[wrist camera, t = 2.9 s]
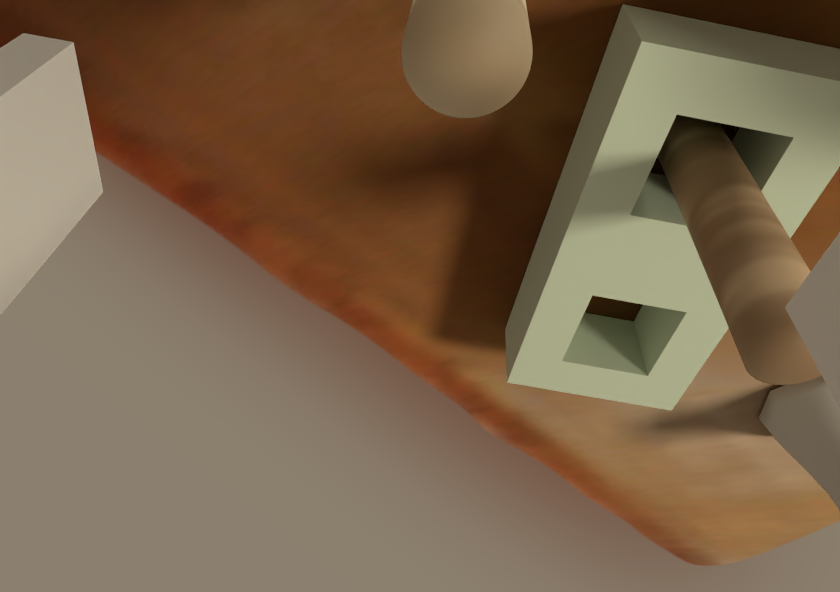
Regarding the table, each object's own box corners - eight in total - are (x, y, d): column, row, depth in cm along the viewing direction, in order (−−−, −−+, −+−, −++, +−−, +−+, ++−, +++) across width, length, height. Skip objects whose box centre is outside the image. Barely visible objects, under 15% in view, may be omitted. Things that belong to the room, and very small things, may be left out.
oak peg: (666, 95, 30) (775, 309, 19) (727, 107, 30) (872, 327, 19) (641, 152, 32) (726, 376, 21) (698, 163, 32) (814, 391, 21)
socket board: (622, 4, 28) (642, 41, 24) (842, 49, 28) (890, 91, 25) (505, 328, 41) (506, 382, 37) (656, 355, 41) (671, 410, 38)
